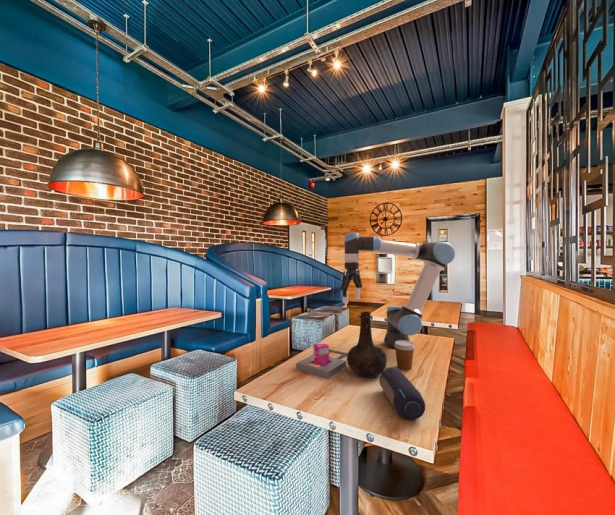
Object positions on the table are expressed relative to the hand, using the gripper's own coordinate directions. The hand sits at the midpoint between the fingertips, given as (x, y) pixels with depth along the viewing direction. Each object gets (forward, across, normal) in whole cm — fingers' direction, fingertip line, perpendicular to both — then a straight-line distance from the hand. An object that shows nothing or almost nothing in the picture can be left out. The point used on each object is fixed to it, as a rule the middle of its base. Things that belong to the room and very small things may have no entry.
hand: (351, 301), depth 160 cm
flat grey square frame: (+29, +8, -9) cm, 31 cm away
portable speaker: (+29, +36, +39) cm, 60 cm away
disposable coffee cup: (+29, +2, +29) cm, 41 cm away
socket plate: (+29, +25, -3) cm, 38 cm away
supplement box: (+29, +25, -3) cm, 38 cm away
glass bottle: (+29, +18, +17) cm, 38 cm away
